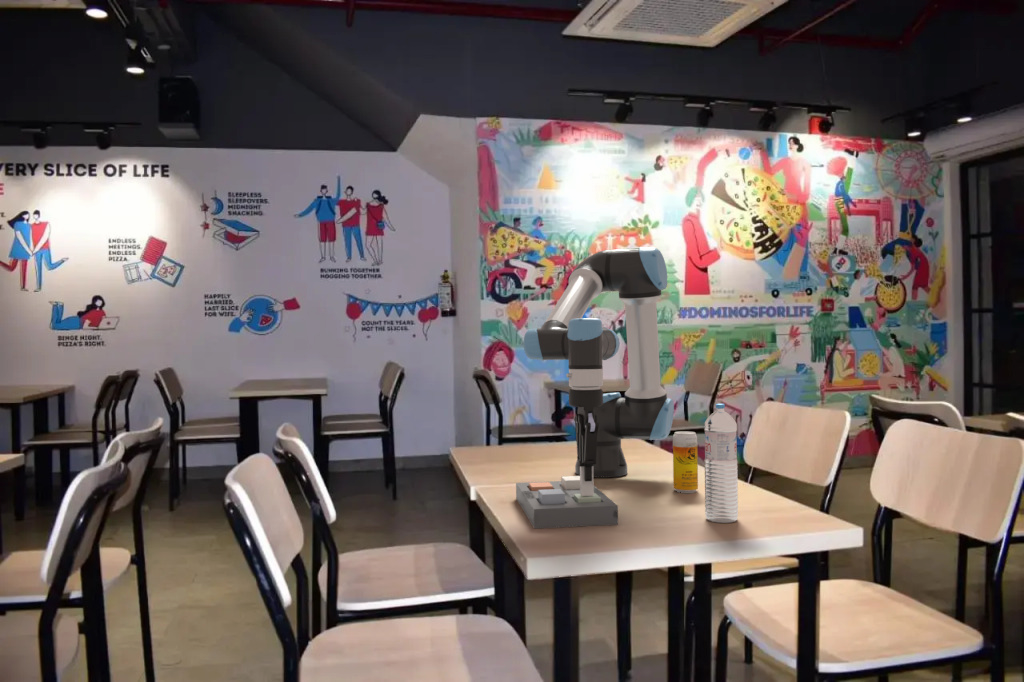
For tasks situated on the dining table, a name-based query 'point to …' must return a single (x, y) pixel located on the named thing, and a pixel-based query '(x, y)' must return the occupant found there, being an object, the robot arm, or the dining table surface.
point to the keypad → (566, 509)
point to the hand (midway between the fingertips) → (586, 494)
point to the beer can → (685, 462)
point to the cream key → (570, 482)
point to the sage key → (586, 498)
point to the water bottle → (721, 467)
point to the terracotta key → (540, 486)
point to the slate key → (551, 496)
